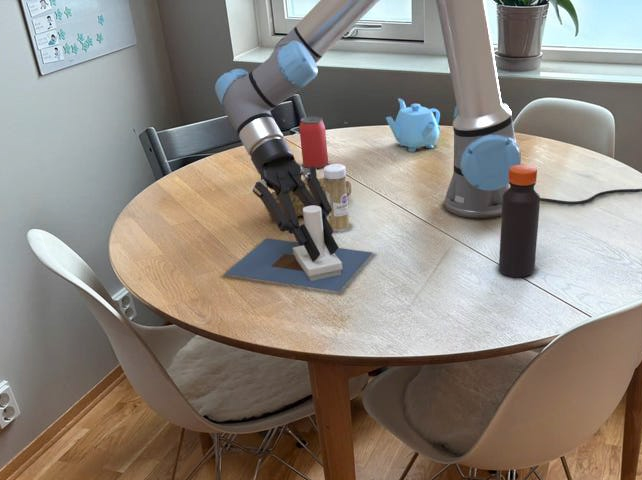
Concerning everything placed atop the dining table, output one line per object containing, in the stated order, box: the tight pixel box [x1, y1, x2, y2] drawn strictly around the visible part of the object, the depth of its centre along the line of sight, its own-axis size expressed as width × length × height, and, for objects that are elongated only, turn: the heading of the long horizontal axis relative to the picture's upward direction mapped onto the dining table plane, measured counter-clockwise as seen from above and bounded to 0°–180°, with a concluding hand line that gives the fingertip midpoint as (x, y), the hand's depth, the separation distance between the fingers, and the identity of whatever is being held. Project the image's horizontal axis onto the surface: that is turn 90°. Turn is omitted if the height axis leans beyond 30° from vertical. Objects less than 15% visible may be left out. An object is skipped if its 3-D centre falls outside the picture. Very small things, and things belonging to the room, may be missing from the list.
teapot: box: [385, 98, 441, 153], centre depth 199 cm, size 15×14×11 cm
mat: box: [224, 238, 373, 293], centre depth 142 cm, size 24×17×1 cm
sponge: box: [268, 177, 352, 220], centre depth 163 cm, size 13×8×20 cm
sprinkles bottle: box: [323, 163, 350, 231], centre depth 153 cm, size 5×5×14 cm
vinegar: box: [498, 164, 541, 279], centre depth 133 cm, size 7×7×20 cm
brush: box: [293, 205, 342, 281], centre depth 137 cm, size 7×11×12 cm, turn 24°
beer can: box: [299, 115, 329, 170], centre depth 187 cm, size 7×7×12 cm
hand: (325, 254), depth 136 cm, fingers closed on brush, 3 cm apart
